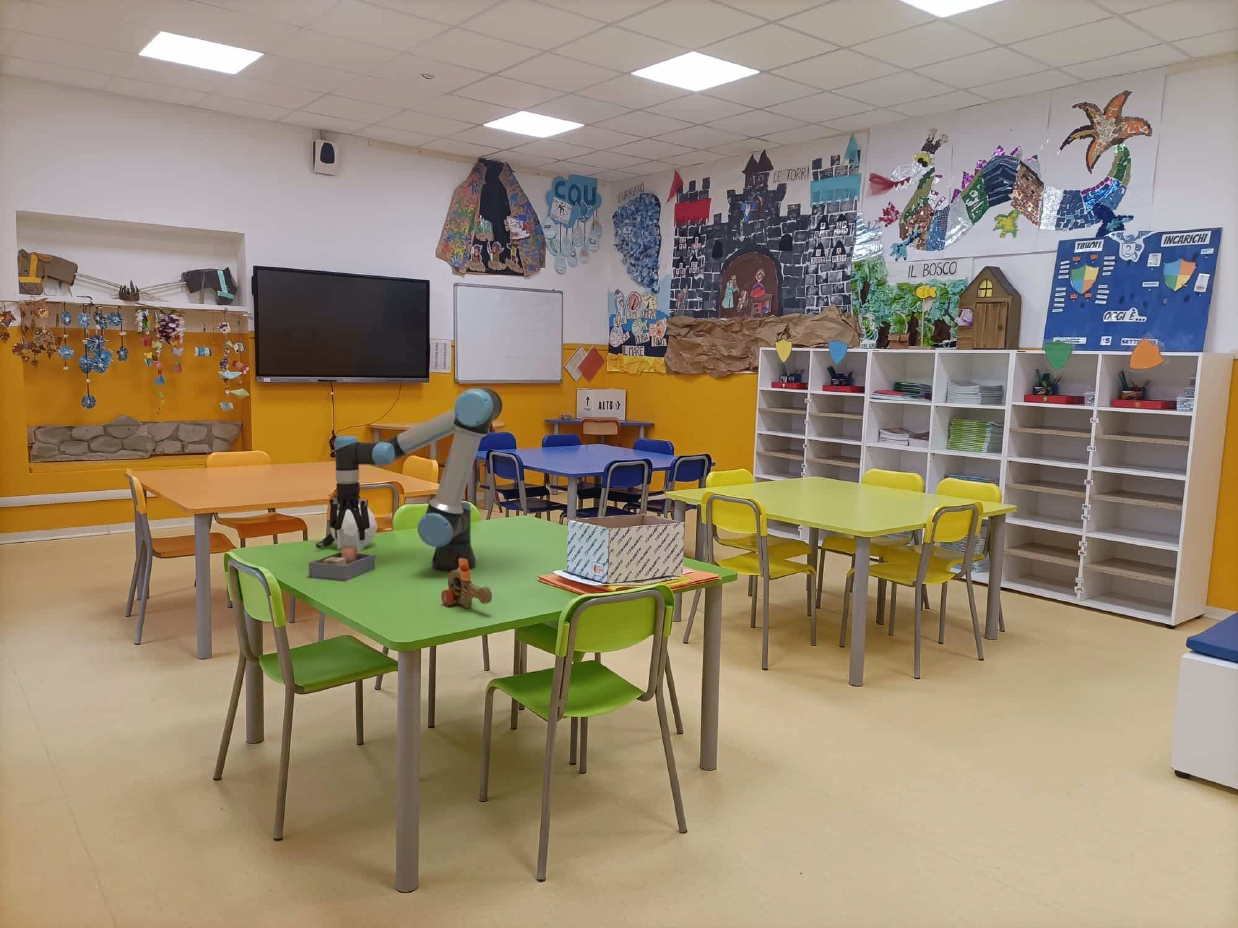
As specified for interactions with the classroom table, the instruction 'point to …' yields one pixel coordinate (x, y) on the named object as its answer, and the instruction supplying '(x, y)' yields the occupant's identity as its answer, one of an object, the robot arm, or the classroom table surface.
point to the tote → (341, 568)
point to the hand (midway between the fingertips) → (350, 548)
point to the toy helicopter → (464, 588)
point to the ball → (351, 531)
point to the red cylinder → (349, 554)
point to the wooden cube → (335, 561)
